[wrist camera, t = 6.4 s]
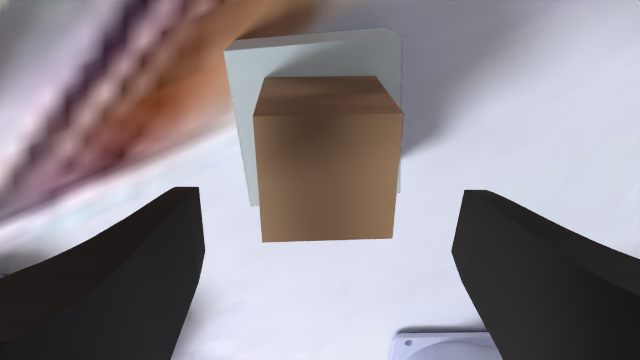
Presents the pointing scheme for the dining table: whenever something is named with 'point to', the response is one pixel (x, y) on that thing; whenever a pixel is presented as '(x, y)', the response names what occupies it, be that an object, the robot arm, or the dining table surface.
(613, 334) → the robot arm
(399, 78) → the grey-blue block
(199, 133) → the dining table surface
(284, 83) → the walnut block
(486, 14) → the dining table surface
